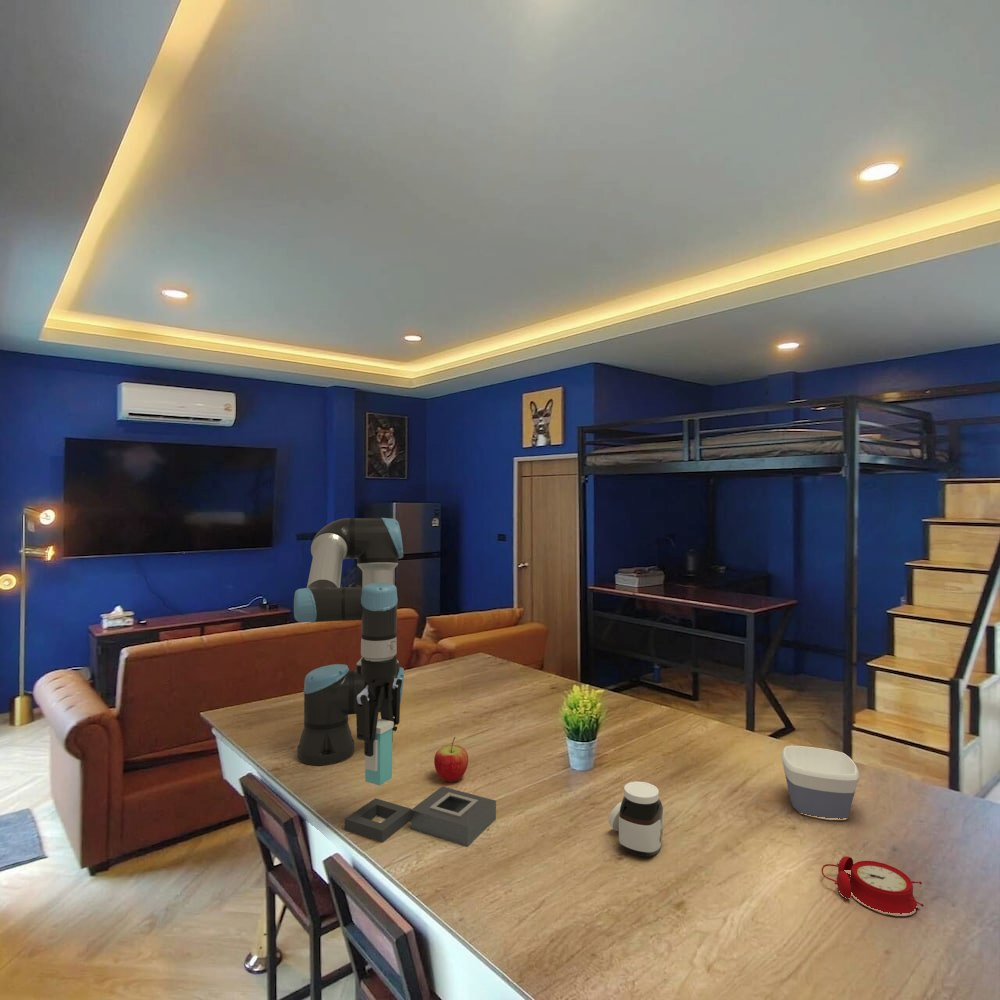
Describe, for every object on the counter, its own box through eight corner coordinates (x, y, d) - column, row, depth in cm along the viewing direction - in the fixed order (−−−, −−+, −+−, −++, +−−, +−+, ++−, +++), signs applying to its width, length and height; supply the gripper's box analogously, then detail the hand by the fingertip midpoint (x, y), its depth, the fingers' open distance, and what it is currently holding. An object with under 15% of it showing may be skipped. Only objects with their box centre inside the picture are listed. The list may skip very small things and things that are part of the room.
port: (410, 828, 129) (410, 808, 129) (442, 803, 140) (442, 785, 140) (467, 846, 123) (467, 825, 123) (495, 818, 133) (496, 799, 133)
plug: (363, 781, 130) (364, 724, 130) (377, 773, 134) (377, 718, 134) (380, 786, 128) (380, 728, 128) (393, 777, 132) (393, 721, 132)
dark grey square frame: (344, 829, 129) (344, 818, 129) (375, 808, 138) (375, 798, 138) (382, 842, 124) (382, 830, 124) (411, 819, 133) (411, 808, 133)
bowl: (849, 798, 143) (850, 750, 143) (865, 831, 129) (865, 779, 129) (778, 787, 148) (778, 742, 148) (785, 819, 134) (785, 768, 134)
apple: (473, 775, 154) (473, 735, 154) (457, 789, 147) (457, 748, 147) (445, 769, 158) (445, 730, 158) (428, 783, 150) (428, 742, 150)
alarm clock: (927, 907, 100) (826, 858, 108) (916, 941, 100) (817, 890, 108) (923, 874, 109) (830, 831, 116) (914, 906, 109) (822, 861, 117)
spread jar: (651, 865, 117) (652, 804, 117) (596, 847, 123) (596, 789, 123) (670, 836, 127) (670, 780, 127) (618, 821, 133) (618, 767, 133)
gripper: (366, 669, 122) (366, 786, 122) (416, 649, 137) (416, 753, 137) (337, 664, 125) (337, 777, 125) (390, 645, 140) (389, 746, 141)
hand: (378, 764), depth 131 cm, fingers closed on plug, 4 cm apart
